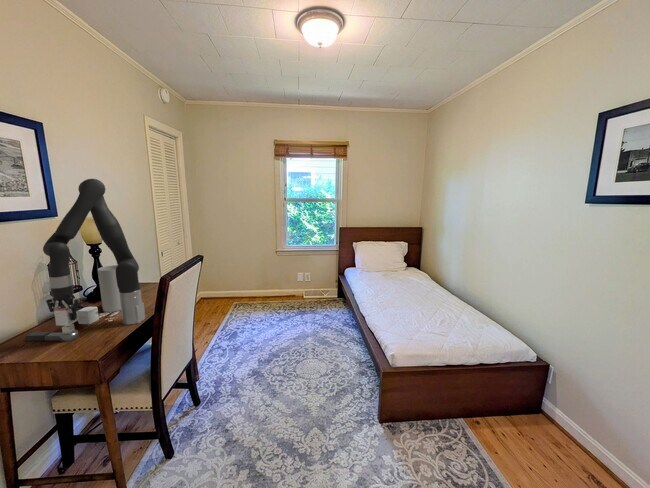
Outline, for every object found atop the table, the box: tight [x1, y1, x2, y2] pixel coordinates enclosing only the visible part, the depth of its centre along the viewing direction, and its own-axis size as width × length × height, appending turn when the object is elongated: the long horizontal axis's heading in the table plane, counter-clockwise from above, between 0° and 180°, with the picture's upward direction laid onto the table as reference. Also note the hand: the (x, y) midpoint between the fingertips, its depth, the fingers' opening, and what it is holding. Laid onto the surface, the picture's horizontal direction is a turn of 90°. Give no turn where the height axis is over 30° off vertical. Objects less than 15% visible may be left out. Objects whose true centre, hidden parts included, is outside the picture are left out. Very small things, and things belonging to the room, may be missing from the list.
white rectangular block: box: [53, 305, 78, 326], centre depth 129 cm, size 6×6×8 cm
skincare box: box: [77, 306, 100, 325], centre depth 148 cm, size 6×6×7 cm
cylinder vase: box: [97, 264, 121, 313], centre depth 164 cm, size 12×12×25 cm
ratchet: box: [24, 323, 80, 343], centre depth 130 cm, size 21×6×6 cm, turn 93°
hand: (66, 319), depth 129 cm, fingers closed on white rectangular block, 5 cm apart
